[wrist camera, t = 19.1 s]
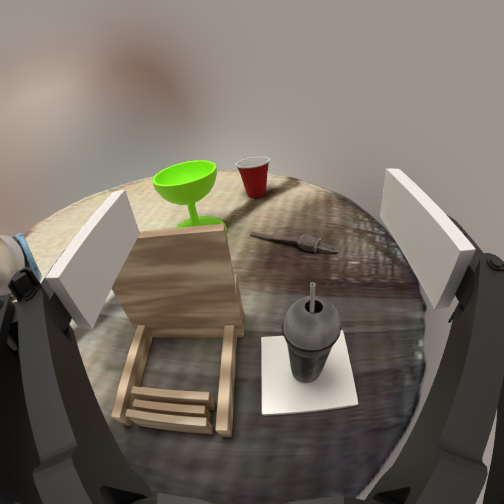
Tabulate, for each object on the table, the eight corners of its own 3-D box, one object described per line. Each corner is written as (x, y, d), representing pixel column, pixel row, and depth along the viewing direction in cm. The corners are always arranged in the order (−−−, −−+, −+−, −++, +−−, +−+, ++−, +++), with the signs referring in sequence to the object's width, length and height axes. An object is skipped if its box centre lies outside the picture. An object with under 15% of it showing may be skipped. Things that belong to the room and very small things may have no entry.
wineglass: (239, 231, 73) (229, 167, 63) (187, 260, 66) (168, 192, 55) (206, 212, 84) (195, 157, 73) (160, 235, 76) (143, 177, 65)
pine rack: (240, 437, 32) (202, 367, 19) (117, 423, 34) (27, 346, 20) (245, 313, 51) (227, 208, 38) (147, 315, 53) (104, 222, 39)
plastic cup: (252, 185, 96) (248, 153, 89) (278, 191, 91) (276, 157, 83) (232, 198, 90) (227, 163, 82) (260, 204, 84) (256, 168, 77)
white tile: (357, 405, 34) (358, 403, 34) (262, 415, 35) (262, 414, 35) (342, 332, 45) (342, 330, 45) (261, 339, 46) (261, 337, 46)
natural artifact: (335, 262, 62) (334, 256, 59) (250, 237, 72) (244, 231, 68) (340, 246, 63) (339, 240, 59) (256, 224, 73) (250, 217, 69)
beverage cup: (335, 359, 40) (358, 262, 28) (319, 397, 36) (341, 312, 23) (293, 345, 44) (296, 248, 31) (274, 381, 39) (268, 291, 26)
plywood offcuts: (213, 434, 33) (205, 425, 30) (138, 425, 34) (125, 415, 31) (215, 403, 37) (208, 392, 34) (144, 397, 38) (132, 386, 35)
